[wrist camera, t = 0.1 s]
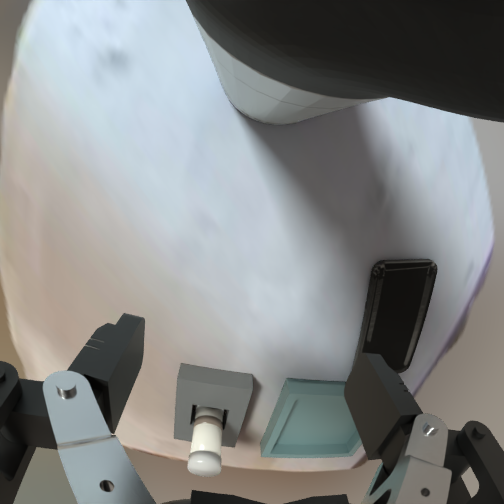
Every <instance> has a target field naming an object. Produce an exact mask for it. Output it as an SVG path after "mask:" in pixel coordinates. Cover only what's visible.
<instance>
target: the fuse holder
mask: <svg viewBox="0 0 504 504" xmlns="http://www.w3.org/2000/svg"><path fill="white" fill-rule="evenodd" d="M252 391H253V381H252V374H246V373H238V372H231V371H224V370H218V369H212V368H206V367H200V366H194V365H189V364H183V363H181V365H180V369H179V373H178V378H177V390H176V406H175V424H174V439H179V440H185V441H191V442H192V437H193V427H194V421H195V415H196V411H193V410H192V408H193V405H199V406H205V407H212V408H219V409H226V413H225V415H223V421H222V424H223V426H222V440H221V446H226V447H235V445H236V442H237V438H238V435H239V432H240V429H241V426H242V423H243V420H244V417H245V413H246V410H247V407H248V404H249V401H250V397H251V394H252Z"/></svg>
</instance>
